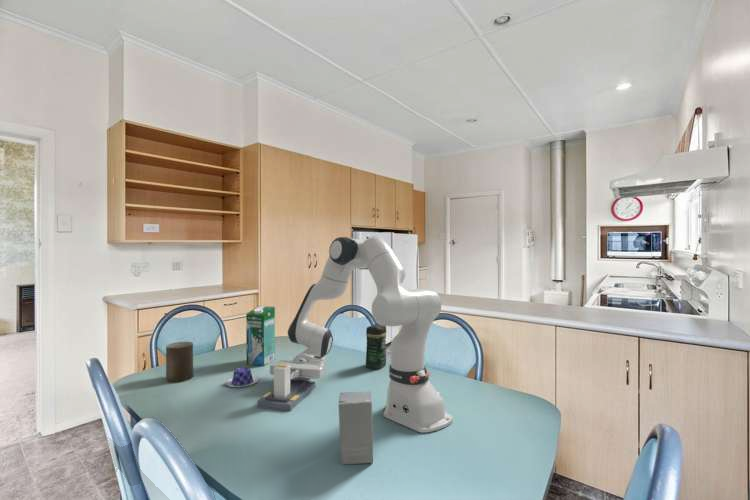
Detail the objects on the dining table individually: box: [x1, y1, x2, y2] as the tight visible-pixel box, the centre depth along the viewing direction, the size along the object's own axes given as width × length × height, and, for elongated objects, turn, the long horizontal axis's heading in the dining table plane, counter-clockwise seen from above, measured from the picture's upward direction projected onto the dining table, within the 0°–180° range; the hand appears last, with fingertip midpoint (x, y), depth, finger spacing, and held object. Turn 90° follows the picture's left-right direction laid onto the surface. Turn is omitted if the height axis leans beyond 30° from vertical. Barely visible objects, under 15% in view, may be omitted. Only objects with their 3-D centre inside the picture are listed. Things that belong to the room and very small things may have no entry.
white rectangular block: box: [273, 364, 290, 398], centre depth 123 cm, size 4×4×10 cm
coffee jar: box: [365, 322, 387, 370], centre depth 159 cm, size 10×8×19 cm
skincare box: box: [338, 390, 374, 466], centre depth 90 cm, size 8×7×16 cm
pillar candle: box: [165, 341, 194, 383], centre depth 145 cm, size 10×10×15 cm
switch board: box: [256, 378, 316, 412], centre depth 127 cm, size 20×12×3 cm, turn 166°
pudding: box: [225, 367, 260, 388], centre depth 141 cm, size 12×12×5 cm
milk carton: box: [245, 305, 276, 367], centre depth 165 cm, size 9×9×25 cm
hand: (287, 376), depth 127 cm, fingers closed
